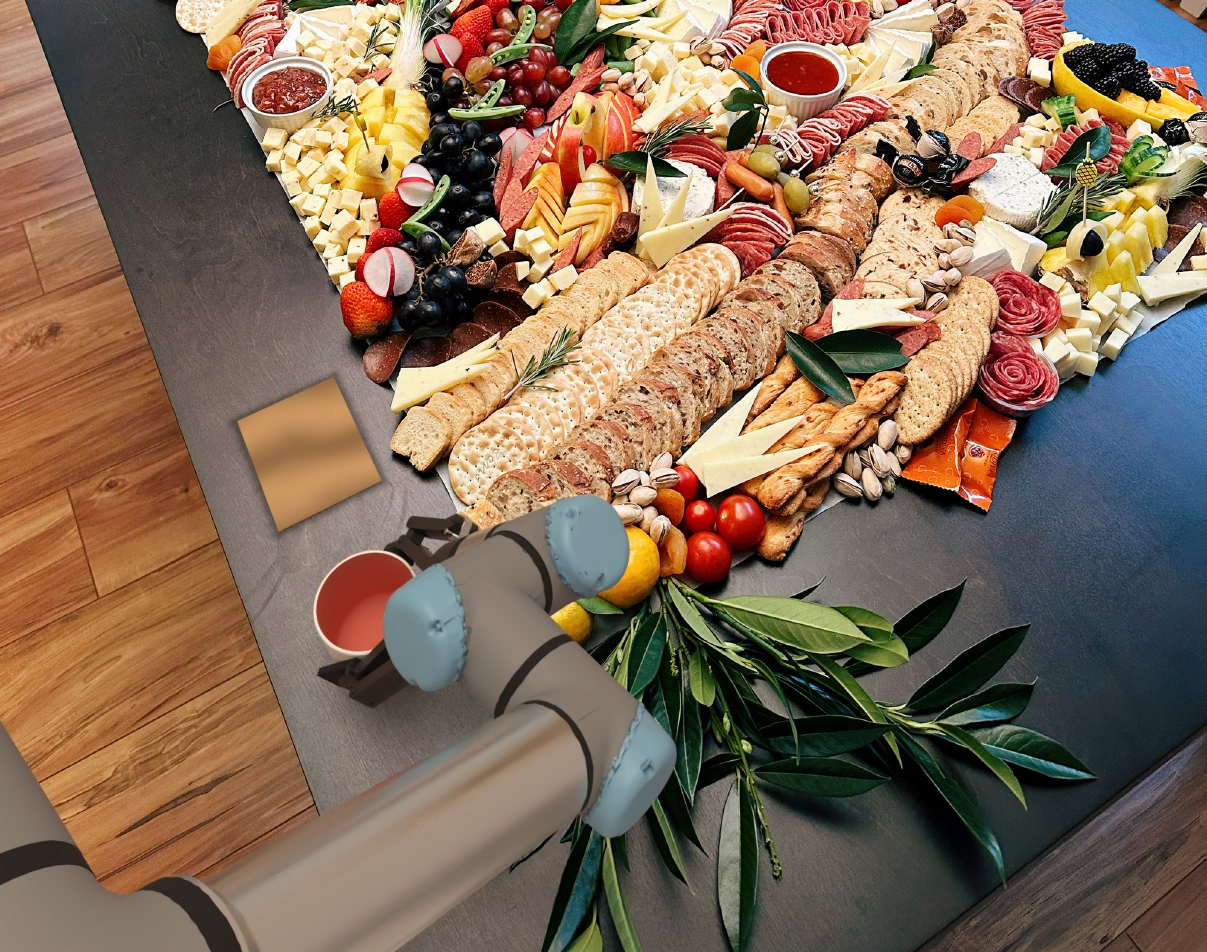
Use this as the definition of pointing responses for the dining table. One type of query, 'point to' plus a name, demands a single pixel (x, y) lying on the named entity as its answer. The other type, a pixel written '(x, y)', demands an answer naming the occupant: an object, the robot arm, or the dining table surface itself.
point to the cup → (357, 602)
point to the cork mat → (307, 453)
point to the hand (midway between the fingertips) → (349, 621)
